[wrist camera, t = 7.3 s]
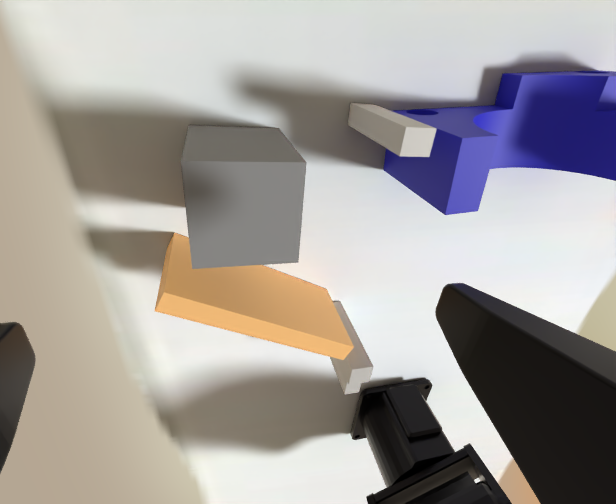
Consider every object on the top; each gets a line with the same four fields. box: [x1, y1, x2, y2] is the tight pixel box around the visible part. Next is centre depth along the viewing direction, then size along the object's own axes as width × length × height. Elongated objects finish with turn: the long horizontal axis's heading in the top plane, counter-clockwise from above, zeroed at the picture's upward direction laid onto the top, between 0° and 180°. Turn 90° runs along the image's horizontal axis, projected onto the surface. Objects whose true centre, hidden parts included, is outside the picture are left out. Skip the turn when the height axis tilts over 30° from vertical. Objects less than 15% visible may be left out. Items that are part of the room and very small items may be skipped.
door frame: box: [330, 103, 437, 395], centre depth 18 cm, size 15×1×6 cm, turn 175°
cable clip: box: [384, 70, 616, 215], centre depth 16 cm, size 12×4×6 cm, turn 90°
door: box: [155, 233, 354, 360], centre depth 18 cm, size 10×2×5 cm, turn 58°
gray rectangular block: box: [181, 125, 306, 269], centre depth 14 cm, size 4×4×6 cm
